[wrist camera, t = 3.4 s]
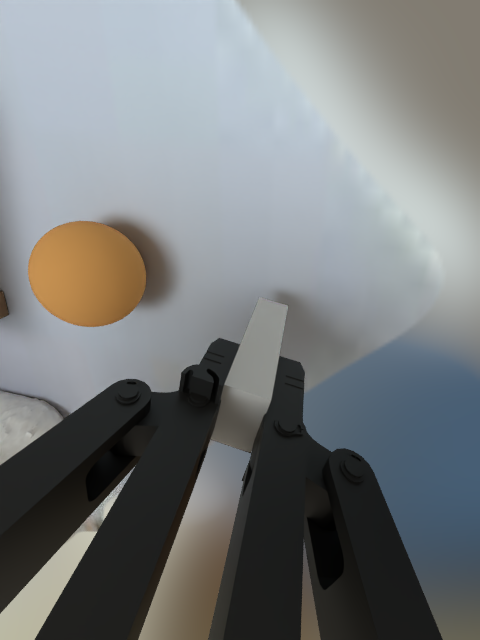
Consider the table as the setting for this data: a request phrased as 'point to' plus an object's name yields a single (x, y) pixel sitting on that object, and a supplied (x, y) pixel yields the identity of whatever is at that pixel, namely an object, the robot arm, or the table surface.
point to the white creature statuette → (23, 422)
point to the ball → (87, 273)
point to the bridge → (3, 306)
